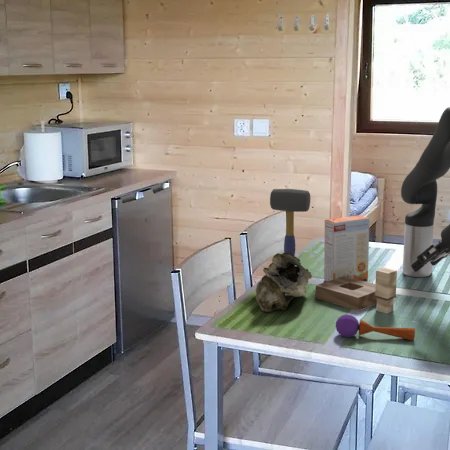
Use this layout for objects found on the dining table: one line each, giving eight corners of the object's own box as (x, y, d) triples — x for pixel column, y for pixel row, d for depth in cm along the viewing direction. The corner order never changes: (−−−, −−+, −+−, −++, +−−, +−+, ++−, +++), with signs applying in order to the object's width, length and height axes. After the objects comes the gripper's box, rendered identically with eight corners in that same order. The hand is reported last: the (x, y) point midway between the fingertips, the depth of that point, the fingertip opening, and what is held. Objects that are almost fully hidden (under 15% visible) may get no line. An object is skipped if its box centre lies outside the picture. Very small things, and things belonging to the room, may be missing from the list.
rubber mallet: (268, 278, 233) (268, 189, 226) (274, 272, 240) (275, 186, 233) (304, 282, 229) (306, 191, 222) (310, 275, 236) (311, 187, 229)
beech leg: (382, 306, 205) (384, 267, 202) (395, 310, 202) (397, 270, 199) (374, 310, 202) (375, 270, 200) (386, 314, 199) (388, 273, 197)
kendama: (416, 330, 176) (336, 320, 180) (412, 350, 179) (334, 340, 182) (415, 318, 182) (337, 308, 185) (411, 338, 184) (335, 327, 188)
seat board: (344, 288, 223) (344, 275, 222) (386, 299, 211) (387, 287, 210) (315, 297, 213) (315, 285, 213) (357, 310, 202) (358, 297, 201)
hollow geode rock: (294, 300, 226) (264, 264, 228) (323, 277, 220) (292, 240, 222) (264, 327, 200) (230, 286, 202) (295, 301, 195) (261, 260, 197)
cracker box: (357, 274, 236) (359, 214, 232) (368, 279, 231) (370, 217, 226) (322, 280, 231) (324, 218, 226) (333, 285, 225) (334, 222, 221)
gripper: (469, 215, 185) (428, 250, 196) (440, 224, 176) (399, 259, 187) (486, 238, 183) (444, 272, 194) (458, 248, 173) (415, 282, 184)
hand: (422, 265), depth 190 cm, fingers open, 8 cm apart
